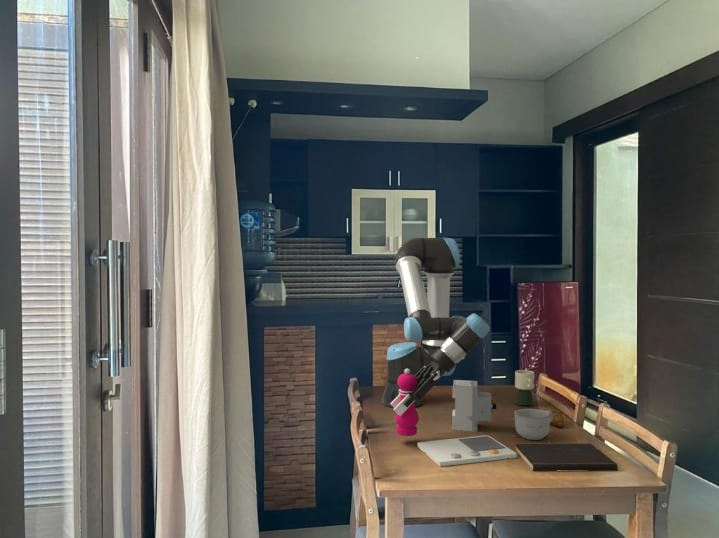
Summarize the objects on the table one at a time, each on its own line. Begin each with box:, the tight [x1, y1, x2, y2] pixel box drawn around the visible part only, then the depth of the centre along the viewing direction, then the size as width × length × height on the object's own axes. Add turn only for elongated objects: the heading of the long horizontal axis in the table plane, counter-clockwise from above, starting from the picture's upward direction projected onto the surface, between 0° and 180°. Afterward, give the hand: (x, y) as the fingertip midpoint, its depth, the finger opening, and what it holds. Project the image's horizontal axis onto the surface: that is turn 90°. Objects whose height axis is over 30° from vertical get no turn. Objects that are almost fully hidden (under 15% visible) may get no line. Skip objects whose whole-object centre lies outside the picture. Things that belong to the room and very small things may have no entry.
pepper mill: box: [394, 369, 420, 437], centre depth 164 cm, size 7×7×20 cm
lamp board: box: [417, 434, 518, 468], centre depth 157 cm, size 16×24×2 cm, turn 106°
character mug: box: [514, 369, 535, 407], centre depth 206 cm, size 11×7×13 cm, turn 7°
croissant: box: [548, 408, 565, 429], centre depth 185 cm, size 14×7×5 cm, turn 2°
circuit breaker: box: [451, 379, 497, 432], centre depth 179 cm, size 8×14×15 cm, turn 78°
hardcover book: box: [514, 443, 619, 472], centre depth 151 cm, size 16×23×2 cm
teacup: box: [513, 408, 553, 441], centre depth 170 cm, size 14×11×8 cm
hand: (395, 409), depth 164 cm, fingers closed on pepper mill, 5 cm apart
